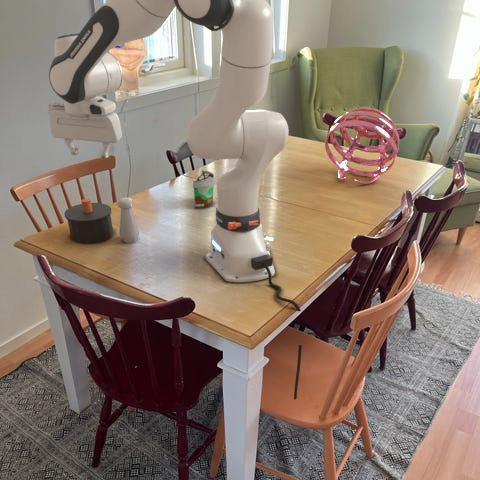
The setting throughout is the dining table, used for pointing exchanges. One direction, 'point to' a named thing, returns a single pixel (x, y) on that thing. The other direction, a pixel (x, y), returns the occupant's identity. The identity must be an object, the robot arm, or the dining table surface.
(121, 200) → the salt shaker
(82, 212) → the canister lid
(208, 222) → the dining table surface
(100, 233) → the canister
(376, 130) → the pink ring sphere sculpture
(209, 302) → the dining table surface
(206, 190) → the food container
